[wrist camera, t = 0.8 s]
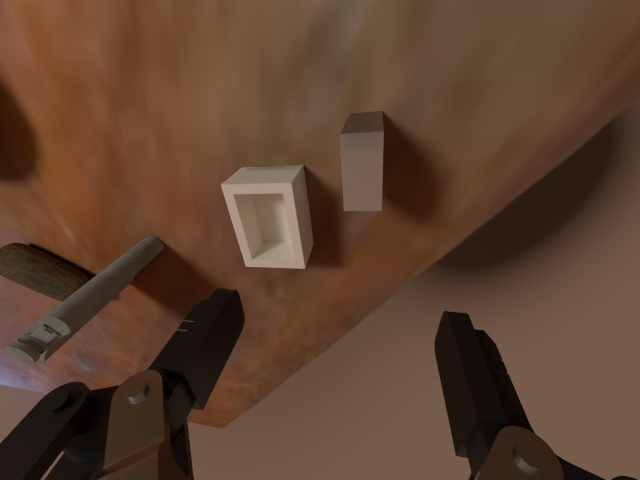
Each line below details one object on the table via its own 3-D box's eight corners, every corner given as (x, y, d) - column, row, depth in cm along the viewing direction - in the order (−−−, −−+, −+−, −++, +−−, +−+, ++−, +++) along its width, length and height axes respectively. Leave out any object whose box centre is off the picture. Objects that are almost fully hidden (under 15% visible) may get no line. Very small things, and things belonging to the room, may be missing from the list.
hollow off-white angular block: (303, 164, 35) (291, 182, 30) (313, 243, 41) (305, 268, 36) (242, 167, 36) (220, 184, 31) (261, 242, 43) (245, 266, 38)
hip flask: (129, 283, 54) (22, 382, 38) (111, 270, 53) (-8, 366, 37) (167, 245, 47) (53, 347, 30) (146, 228, 45) (16, 325, 29)
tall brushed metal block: (382, 110, 30) (383, 131, 22) (380, 173, 34) (381, 210, 25) (350, 113, 31) (339, 133, 22) (352, 174, 34) (343, 211, 26)
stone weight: (26, 257, 56) (-13, 279, 50) (21, 233, 52) (-21, 254, 46) (98, 291, 58) (68, 315, 52) (98, 270, 54) (67, 294, 48)
